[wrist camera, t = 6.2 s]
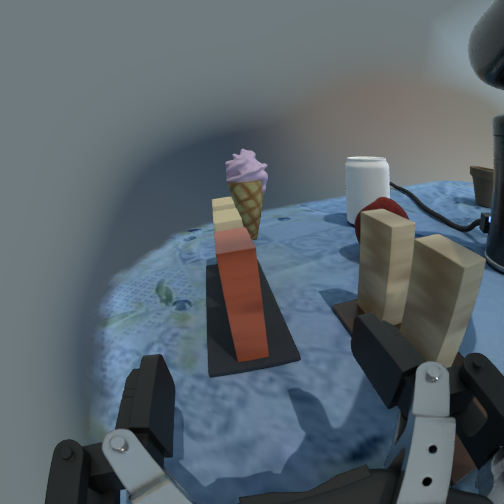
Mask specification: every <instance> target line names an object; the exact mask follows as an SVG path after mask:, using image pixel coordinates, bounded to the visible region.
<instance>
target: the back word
mask: <svg viewBox="0 0 504 504" xmlns="http://www.w3.org/2000/svg"><path fill="white" fill-rule="evenodd" d="M212 207H213V223H214V229H215V232H219V231H224V230H230V229H236V228H243V224H242V219H241V216H240V214H239V212H238V210H237V208H235V205H234V202H233V200H232V198H231V197H224V198H218V199H213V200H212ZM257 263H258V271H259V279H260V288H261V296H262V304H263V312H264V320H265V328H266V337H267V345H268V353H269V356H268V357H264V358H259V359H254V360H249V361H243V362H238V360H237V356H236V351H235V347H234V342H233V337H232V333H231V328H230V323H229V319H228V314H227V309H226V304H225V299H224V294H223V289H222V284H221V279H220V273H219V268H218V264H216V265H210V266H206V300H207V343H208V368H209V376H210V377H216V376H223V375H229V374H235V373H241V372H247V371H252V370H257V369H262V368H267V367H272V366H277V365H281V364H286V363H290V362H294V361H299V360H301V357H300V354H299V352H298V350H297V348H296V345H295V343H294V341H293V339H292V336H291V334H290V332H289V330H288V327H287V325H286V323H285V320H284V318H283V316H282V314H281V311H280V309H279V307H278V305H277V302H276V300H275V298H274V296H273V293H272V291H271V289H270V287H269V284H268V282H267V280H266V278H265V275H264V273H263V271H262V269H261V266H260V264H259V262H258V260H257Z"/></svg>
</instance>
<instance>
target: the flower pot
mask: <svg viewBox="0 0 504 504" xmlns="http://www.w3.org/2000/svg"><path fill="white" fill-rule="evenodd" d="M470 174H471V175H472V177H473V183H474V191H475V199H476V203H477V204H479V205H481V206H484V207H489V208H491V204H492V192H493V176H494V169H489V168H484V167H478V166H470Z"/></svg>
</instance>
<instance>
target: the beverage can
mask: <svg viewBox="0 0 504 504" xmlns="http://www.w3.org/2000/svg"><path fill="white" fill-rule="evenodd" d="M347 160H348V161H347V162H346V164H345V176H346V199H347V220H348V222H350V223H352V224H353V225H355V219H356V216H357V214H358V213H359V212H360V211H361V210H362V209H363V208H365V207H366V206H367V205H369V204H371V203H372V202H374V201H375V200H376V199H377V198H379V197H387V198H390V185H389V165H388V163H387V162H386V158H382V157H348V158H347Z"/></svg>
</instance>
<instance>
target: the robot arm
mask: <svg viewBox="0 0 504 504" xmlns="http://www.w3.org/2000/svg"><path fill="white" fill-rule="evenodd" d="M468 54H469V60H470V64H471V66H472V68H473V70H474V72H475V74H476V75H477V76H478V78H480V79H481V80H482V81H483V82H484V83H486V84H488V85H490V86H492V87H495V88H498V89H502V90H504V0H494V1H493V2H492V4H491V5H490V6H489V8H488V9H487V10H486V11H485V13H484V14H483V15H482V16H481V18H480V19H479V20H478V21H477V23H476V24H475V26H474V27H473V29H472V32H471V34H470V38H469V44H468ZM492 132H493V153H494V176H493V192H492V204H491V214H490V213H481V219H478V220H475V221H474V222H472V223H471V224H470V225H469V226H459V225H457V224H455V223H453V222H451V221H450V220H448V219H446V218H445V217H443V216H442V215H440V214H438V213H436V212H434V211H433V210H431V209H429V208H428V207H427V206H425V205H424V204H423V203H422V202H421V201H420V200H419V199H418V198H417V197H416V196H414V195H413V194H412V193H411V192H410V191H408V190H406V189H404V188H402V187H399V186H396V185H395V184H393V183H391V182H389V185H391V186H393V187H394V188H396V189H398V190H401V191H403V192H405V193H406V194H408V195H409V196H411V197H412V198H413V199H414V200H415V201H416V202H417V204H418V205H419V206H420V207H421V208H423V209H424V210H425V211H426V212H428V213H429V214H431V215H432V216H434V217H436V218H437V219H439V220H441V221H442V222H444V223H445V224H447V225H448V226H450V227H452V228H455V229H457V230H459V231H463V232H469V231H471V230H472V229H474V228H475V227H476V226H478V225H480V227H479V229H480V230H481V231H482V232H483V233H488V237H487V243H486V249H485V253H484V258H485V259H486V261H487V263H488V264H489V265H491V266H492V267H493V268H495V269H497V270H498V271H500V272H502V273H504V114H499V115H496V116H494V117H493V119H492ZM351 350H352V353H353V356H354V358H355V359H356V361H357V362H358V364H359V365H360V367H361V368H362V370H363V371H364V373H365V374H366V376H367V377H368V379H369V380H370V382H371V384H372V385H373V387H374V388H375V390H376V391H377V393H378V394H379V396H380V398H381V399H382V401H383V402H384V404H385V405H386V407H387V409H391V408H393V407H395V406H398V408H399V409H400V410H399V412H398V417H397V422H396V427H395V432H394V436H393V441H392V445H391V449H390V452H389V454H388V457H387V459H386V461H385V464H384V467H383V469H370V470H369V469H368V467H367V465H366V464H365V465H363V466H360V467H358V468H355V469H353V470H350V471H347V472H344V473H342V474H339V475H336V476H335V477H333V478H331V479H330V480H328V481H326V482H324V483H323V484H321V485H319V486H317V487H315V488H313V489H311V490H309V491H306V492H271V493H265V494H259V495H253V496H246V497H239V500H240V503H239V504H504V376H503V375H502V373H501V372H500V371H499V370H498V369H497V368H496V367H495V366H494V365H493V363H492V362H491V361H490V360H489V359H488V358H487V357H486V356H484V355H483V354H480V353H471V354H469V355H467V356H466V357H465V359H464V361H463V363H462V365H457V366H452V367H447V368H446V367H445V366H444V365H442V364H441V363H438V362H434V361H429V362H427V361H426V360H425V359H424V357H423V356H422V355H421V354H420V353H419V352H418V351H417V350H416V349H415V347H414V346H413V345H412V344H411V343H410V342H409V341H408V340H406V338H405V337H404V335H403V334H402V335H401V332H400V331H399V330H398V329H397V328H396V327H395V326H394V325H392V324H390V323H389V322H387V321H385V320H383V321H380V320H379V319H378V318H377V317H376V316H375V314H374V313H372V312H370V313H367V314H364V315H360V316H357V317H355V318H354V322H353V331H352V340H351ZM124 389H125V390H124V391H123V395H122V397H123V398H122V400H121V404H120V409H119V413H118V418H117V423H116V427H115V430H113V431H111V432H109V433H108V434H107V435H106V436H105V437H104V439H103V441H102V442H101V443H97V444H92V445H88V446H83V447H82V446H81V445H80V444H79V443H78V442H76V441H74V440H71V439H68V440H64V441H62V442H60V443H59V444H58V445H57V446H56V447H55V449H54V453H53V457H52V462H51V467H50V473H49V478H48V485H47V491H46V498H45V504H120V490H123V489H126V490H127V491H128V493H129V494H130V496H129V500H130V502H131V504H200V503H199V502H198V501H196V500H195V499H194V498H193V497H192V496H191V495H190V494H189V493H188V492H187V491H186V490H185V489H184V488H183V487H182V486H181V485H180V484H179V483H178V482H177V481H176V479H175V478H174V477H173V476H172V475H171V474H170V473H169V472H168V471H167V469H166V468H165V467H164V458H171V457H173V430H174V407H175V385H174V381H173V378H172V376H171V374H170V372H169V370H168V367H167V365H166V363H165V361H164V358H163V356H162V355H161V354H158V355H147V356H143V357H142V360H141V364H140V369H133V370H132V372H131V373H130V374H129V376H128V377H127V379H126V383H125V387H124ZM475 397H476V399H477V400H478V401H479V403H480V404H481V405H482V407H483V408H484V409H485V411H486V413H487V419H486V417H485V416H484V414H483V413H482V412H481V410H480V409H479V407H478V406H477V405H476V403H475V402H474V401H473V399H474V398H475ZM455 432H456V434H457V435H458V437H459V439H460V440H461V442H462V444H463V445H464V447H465V449H466V450H467V452H468V454H469V455H470V457H471V459H472V460H473V462H474V464H475V466H476V467H477V469H478V471H479V472H478V475H477V480H476V482H475V487H476V488H477V489H479V494H474V493H470V492H465V491H461V490H457V489H453V488H449V484H450V478H451V471H452V464H453V455H454V444H455Z"/></svg>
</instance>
